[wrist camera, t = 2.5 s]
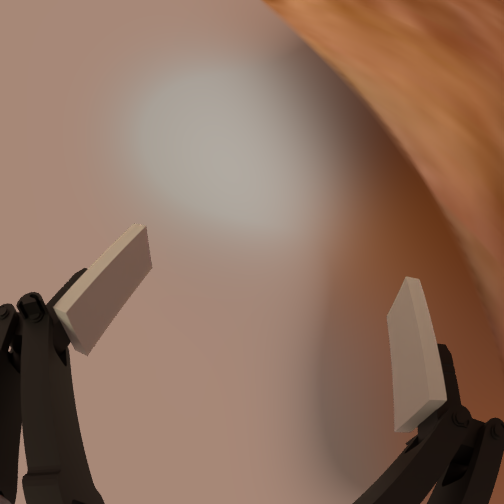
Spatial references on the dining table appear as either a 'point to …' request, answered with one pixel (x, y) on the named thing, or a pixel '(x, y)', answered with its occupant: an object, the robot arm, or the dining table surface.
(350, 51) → the dining table surface
